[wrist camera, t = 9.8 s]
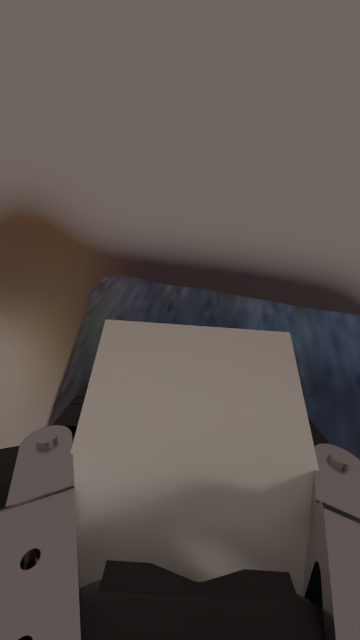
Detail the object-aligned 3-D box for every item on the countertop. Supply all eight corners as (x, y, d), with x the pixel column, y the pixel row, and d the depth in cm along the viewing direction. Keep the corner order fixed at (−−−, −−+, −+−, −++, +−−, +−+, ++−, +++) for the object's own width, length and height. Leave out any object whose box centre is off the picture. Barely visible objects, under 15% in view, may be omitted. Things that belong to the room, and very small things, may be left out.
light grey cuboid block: (231, 393, 15) (289, 332, 8) (238, 516, 12) (349, 611, 4) (136, 386, 15) (105, 319, 8) (117, 508, 12) (34, 590, 4)
